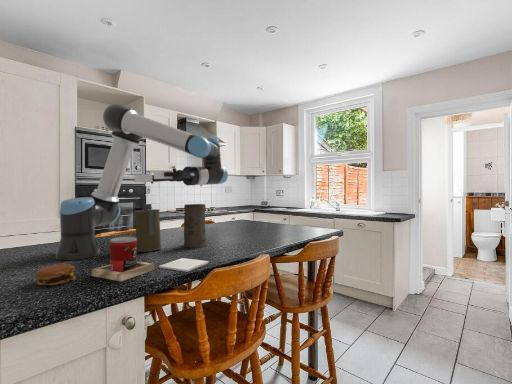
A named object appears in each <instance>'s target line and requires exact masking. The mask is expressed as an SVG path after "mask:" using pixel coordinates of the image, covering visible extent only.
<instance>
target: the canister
mask: <svg viewBox="0 0 512 384" xmlns="http://www.w3.org/2000/svg"><path fill="white" fill-rule="evenodd" d="M134 218H135V219H134V220H135V234H136V235H135V237H136V238H137V253H138V252H139V253H140V252H141V253H145V252H146V253H147V252H154V251H158V250H161V249H162V243H161V223H160V222H161V220H160V218H161V217H160V208H159V209H158V208H157V209H156V208H155V209H153V208H152V203H143V204H142V208H141V209H139V210H138V209H137V210H134Z"/></svg>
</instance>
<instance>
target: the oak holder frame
mask: <svg viewBox="0 0 512 384" xmlns="http://www.w3.org/2000/svg"><path fill="white" fill-rule="evenodd" d="M152 271H155V263H151V262H146V261H138V260H137V268H135V269H131V270H128V271H125V272H122V273H121V272H115V271H111V267H110V264H107V265H102V266H100V267H96V268H91V277H96V278H101V279H106V280H112V281H115V282H123V281H127V280H130V279H132V278H135V277H137V276H140V275H143V274H147V273H149V272H152Z"/></svg>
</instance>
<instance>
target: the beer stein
mask: <svg viewBox="0 0 512 384" xmlns="http://www.w3.org/2000/svg"><path fill="white" fill-rule="evenodd" d="M206 209H207V207H206V204H205V203H194V204H193V203H192V204H191V203H190V204H187V203H186V204H184V208H183V210H184V216H183V217H184V218H183V240H184V243H183V247H185V248H189V249H194V248H196V249H197V248H203V247H206V246H207V245H208V241H207V239H208V238H207V233H206V231H207V230H206Z"/></svg>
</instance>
